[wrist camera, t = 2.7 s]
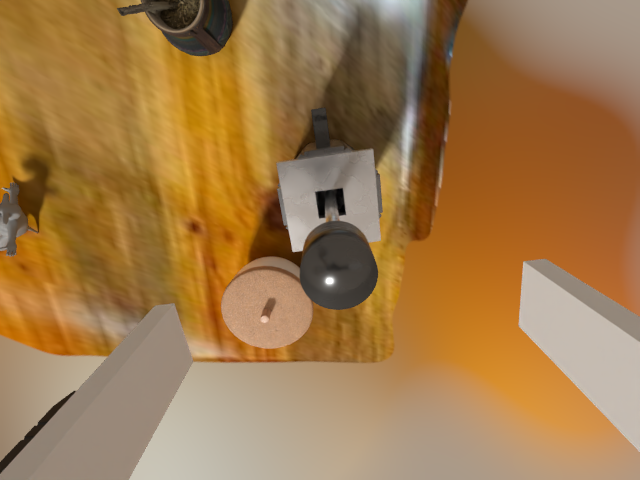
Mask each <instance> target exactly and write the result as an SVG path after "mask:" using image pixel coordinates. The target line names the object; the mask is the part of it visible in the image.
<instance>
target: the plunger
mask: <svg viewBox="0 0 640 480" xmlns="http://www.w3.org/2000/svg"><path fill="white" fill-rule="evenodd" d="M316 198H317V205H318V212H319V215H325V218H326V222H325V223H323V224H321V225H319V226H317V227H316V228H314V229H313V230H312V231H311V232H310V233H309V235H308V236H307V238H306V240H305V242H304V246H303V252H302V259H301V266H300V282H301V286H302V288H303V290H304V292H305V294H306V295H307V296H308V297H309V298H310V299H311V300H312V301H313V302H315V303H316V304H318V305H320V306H322V307H325V308H328V309H336V310H340V309H348V308H351V307H354V306H356V305H358V304H360V303H362V302H363V301H364V300H366V299H367V298H368V297H369V296H370V294H371V293H372V291H373V290H374V288H375V286H376V283H377V278H378V269H377V265H376V262H375V259H374V256H373V254H372V251H371V248H370V246H369V243H368V241H367V238H366V236H365V235H364V233H363V232H362V231H361V230H360V229H359V228H357V227H356V226H354V225H353V224H351V223H348V222H344V221H340V219H339V214H338V213H341V212H345V204H344V195H343V188H338V189H331V190H324V191H316Z"/></svg>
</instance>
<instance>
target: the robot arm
mask: <svg viewBox="0 0 640 480" xmlns="http://www.w3.org/2000/svg"><path fill="white" fill-rule="evenodd" d="M519 327H520V328H521V329H522V330H523V331H524V332H525V333H526V334H527V335H528V336H529V337H530V338H531V339H532V340H533V341H534V342H535V343H536V344H537V345H538V346H539V347H540V349H542V351H544V353H545V354H546V355H547V356H548V357H549V358H550V359H551V360H552V361H553V362H554V363H555V364H556V365H557V366H558V367H559V368H560V369H561V370H562V371H563V372H564V373H565V375H566V376H567V377H568V378H569V379H570V380H571V381H572V382H573V383H574V384H575V385H576V386H577V387H578V388H579V389H580V390H581V391H582V392H583V393H584V394H585V395H586V396H587V397H588V399H590V401H592V403H593V404H594V405H595V406H596V407H597V408H598V409H599V410H600V411H601V412H602V413H603V414H604V415H605V416H606V417H607V418H608V419H609V420H610V421H611V422H612V424H613V425H615V427H616V428H617V429H618V430H619V431H620V432H621V433H622V434H623V435H624V436H625V437H626V438H627V439H628V440H629V441H630V442H631V443H632V444H633V445H634V446H635V447H636V448H637V449H638V451H639V452H640V317H639V316H637V315H636V314H634V313H632V312H631V311H629V310H628V309H626V308H624V307H623V306H621V305H619V304H618V303H616V302H615V301H613V300H611V299H610V298H608V297H607V296H605V295H603V294H602V293H600V292H598V291H597V290H595V289H594V288H592V287H590V286H589V285H587V284H585V283H584V282H582V281H580V280H579V279H577V278H575V277H574V276H572V275H571V274H569V273H567V272H566V271H564V270H563V269H561V268H559V267H558V266H556V265H554V264H553V263H551V262H550V261H548V260H546V259H540V260H532V261H524V263H523V275H522V289H521V302H520V315H519ZM192 363H193V359H192V356H191V353H190V350H189V347H188V344H187V341H186V338H185V335H184V332H183V329H182V326H181V323H180V320H179V317H178V314H177V311H176V308H175V305H174V304H166V305H158V306H154V307H153V308H152V310H151V311H150V312H149V313H148V314H147V315H146V316H145V317H144V318H143V319H142V320H141V321H140V323H139V324H138V325H137V326H136V327H135V328H134V329H133V330H132V331H131V332H130V333H129V335H128V336H127V337H126V338H125V339H124V340H123V341H122V342H121V343H120V344H119V345H118V346H117V348H116V349H115V350H114V351H113V352H112V353H111V354H110V355H109V356H108V357H107V358H106V360H105V361H104V362H103V363H102V364H101V365H100V366H99V367H98V368H97V369H96V370H95V372H94V373H93V374H92V375H91V376H90V377H89V378H88V379H87V380H86V381H85V382H84V383H83V384H82V386H81V387H80V388H79V389H78V390H77V391H73V392H72V393H70V394H69V395H68V396H66V397H65V398H64V399H62V400H61V401H60V402H58V403H57V404H56V405H54V406H53V407H52V408H51V409H50V410H49V411H48V412H47V413H46V415H45V416H44V417H43V418H42V419H41V420H40V421H39V422H38V425H37V426H34V427H33V428H32V429H31V431H29V432H28V433H27V434H26V436H25V438H24V440H21V441H20V442H19V443H18V444H17V445H16V446H15V447H14V448H13V449H12V450H11V451H10V452H9V453H8V454H7V455H6V456H5V458H4V459H3V460H2V461H1V462H0V480H129V478H130V476H131V474H132V472H133V471H134V469H135V467H136V465H137V463H138V462H139V460H140V458H141V456H142V454H143V452H144V451H145V449H146V447H147V445H148V443H149V441H150V440H151V438H152V436H153V434H154V432H155V430H156V429H157V427H158V425H159V423H160V421H161V419H162V418H163V416H164V414H165V412H166V410H167V408H168V407H169V405H170V403H171V401H172V399H173V398H174V396H175V394H176V392H177V390H178V388H179V386H180V385H181V383H182V381H183V379H184V377H185V376H186V374H187V372H188V370H189V368H190V366H191V365H192Z"/></svg>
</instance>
